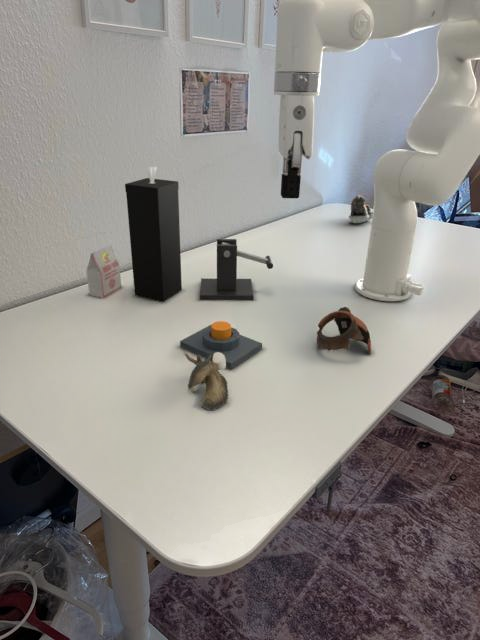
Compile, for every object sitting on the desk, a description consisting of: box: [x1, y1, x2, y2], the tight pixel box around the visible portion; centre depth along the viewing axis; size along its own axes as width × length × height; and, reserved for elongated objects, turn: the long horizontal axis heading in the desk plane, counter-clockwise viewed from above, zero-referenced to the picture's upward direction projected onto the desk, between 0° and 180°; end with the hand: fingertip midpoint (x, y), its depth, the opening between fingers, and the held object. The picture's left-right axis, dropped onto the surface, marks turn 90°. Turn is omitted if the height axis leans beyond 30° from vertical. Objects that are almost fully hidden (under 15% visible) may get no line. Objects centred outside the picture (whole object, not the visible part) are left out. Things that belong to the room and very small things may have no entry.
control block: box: [179, 323, 263, 370], centre depth 87 cm, size 12×9×3 cm
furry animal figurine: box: [184, 352, 229, 412], centre depth 74 cm, size 8×7×9 cm
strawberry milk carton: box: [86, 244, 122, 299], centre depth 107 cm, size 4×7×10 cm, turn 157°
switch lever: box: [222, 242, 274, 270], centre depth 107 cm, size 12×5×2 cm, turn 92°
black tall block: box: [124, 166, 183, 303], centre depth 103 cm, size 8×8×28 cm
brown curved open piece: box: [316, 306, 372, 355], centre depth 88 cm, size 12×10×8 cm
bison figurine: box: [348, 195, 373, 224], centre depth 166 cm, size 12×7×10 cm, turn 148°
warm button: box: [210, 320, 232, 340], centre depth 86 cm, size 4×4×2 cm
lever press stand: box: [199, 238, 254, 301], centre depth 108 cm, size 12×10×12 cm
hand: (289, 197), depth 87 cm, fingers closed
